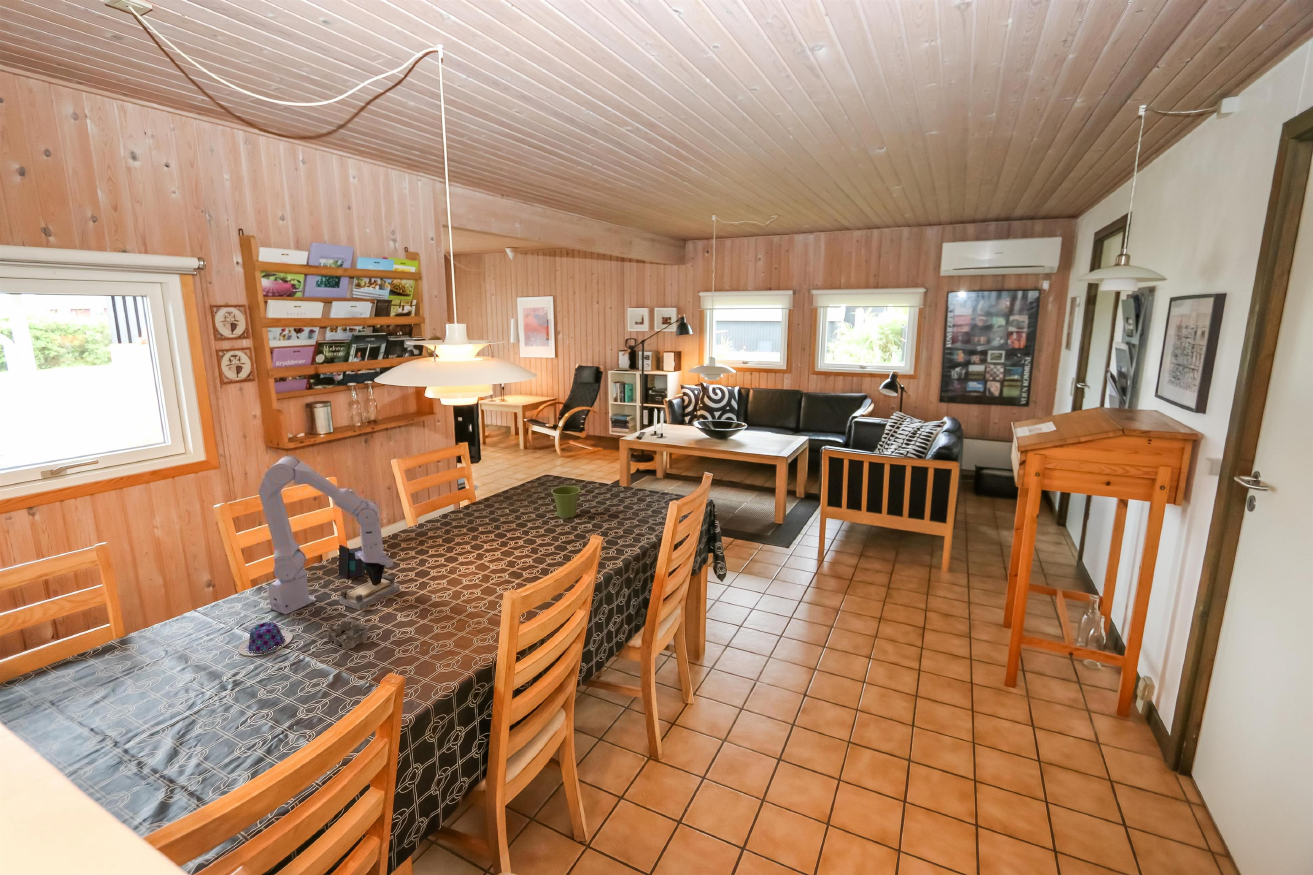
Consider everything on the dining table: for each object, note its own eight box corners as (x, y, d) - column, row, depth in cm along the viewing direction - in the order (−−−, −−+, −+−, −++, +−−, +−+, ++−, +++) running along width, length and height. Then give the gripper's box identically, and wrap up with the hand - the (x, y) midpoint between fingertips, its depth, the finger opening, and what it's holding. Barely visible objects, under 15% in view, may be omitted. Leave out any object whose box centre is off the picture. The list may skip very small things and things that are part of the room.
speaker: (340, 581, 193) (340, 549, 192) (338, 575, 198) (338, 544, 196) (366, 577, 197) (366, 546, 196) (363, 571, 202) (363, 541, 201)
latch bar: (357, 600, 177) (357, 598, 177) (346, 596, 179) (346, 594, 179) (390, 583, 187) (390, 581, 186) (379, 580, 189) (379, 577, 189)
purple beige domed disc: (249, 635, 163) (246, 618, 162) (299, 630, 166) (296, 612, 165) (230, 661, 151) (227, 642, 150) (284, 654, 154) (281, 635, 153)
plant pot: (553, 511, 257) (552, 486, 255) (581, 510, 258) (580, 485, 256) (551, 521, 246) (550, 495, 243) (580, 520, 247) (580, 494, 244)
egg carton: (323, 639, 161) (321, 625, 160) (351, 627, 167) (349, 613, 166) (344, 652, 155) (342, 638, 154) (372, 639, 161) (370, 625, 160)
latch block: (360, 610, 176) (358, 597, 175) (339, 603, 180) (338, 591, 179) (399, 590, 188) (398, 578, 187) (379, 584, 192) (378, 572, 191)
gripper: (399, 541, 182) (404, 583, 185) (367, 533, 189) (371, 573, 192) (379, 550, 176) (384, 593, 179) (346, 541, 183) (352, 583, 186)
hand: (376, 583), depth 185 cm, fingers closed, pressing on latch bar
